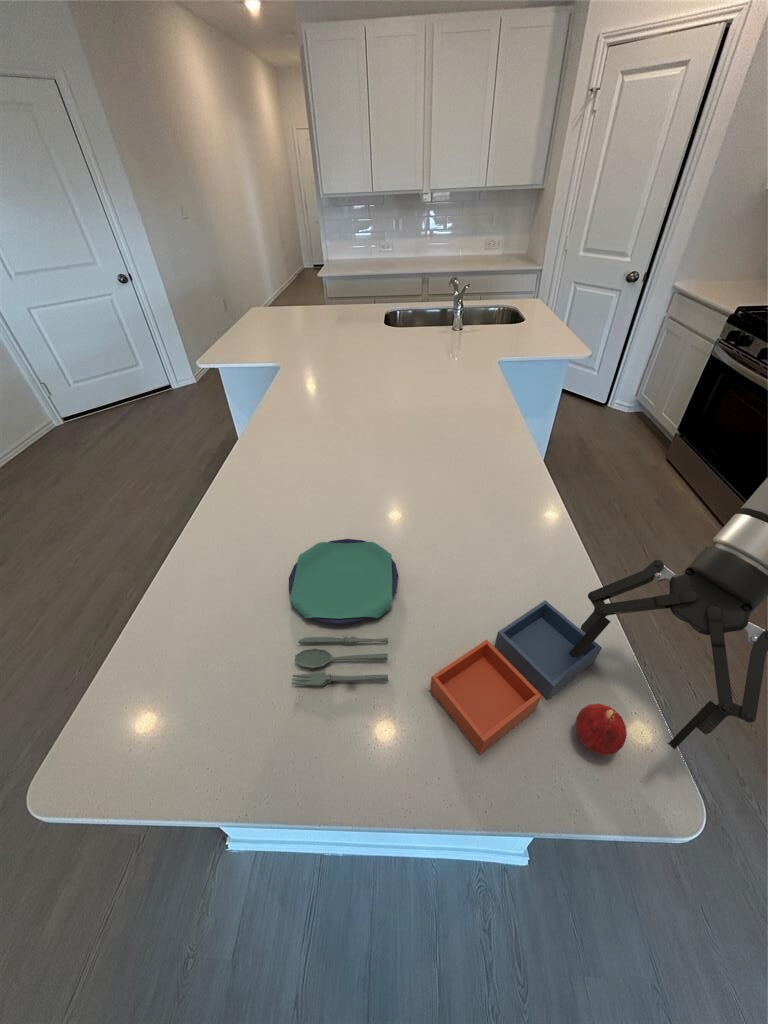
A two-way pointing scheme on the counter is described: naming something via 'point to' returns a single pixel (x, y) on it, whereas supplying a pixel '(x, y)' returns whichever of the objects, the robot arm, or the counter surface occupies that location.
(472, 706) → the terracotta bin
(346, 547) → the cutlery set
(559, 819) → the counter surface
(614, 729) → the red rounded oval piece
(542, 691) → the blue bin
